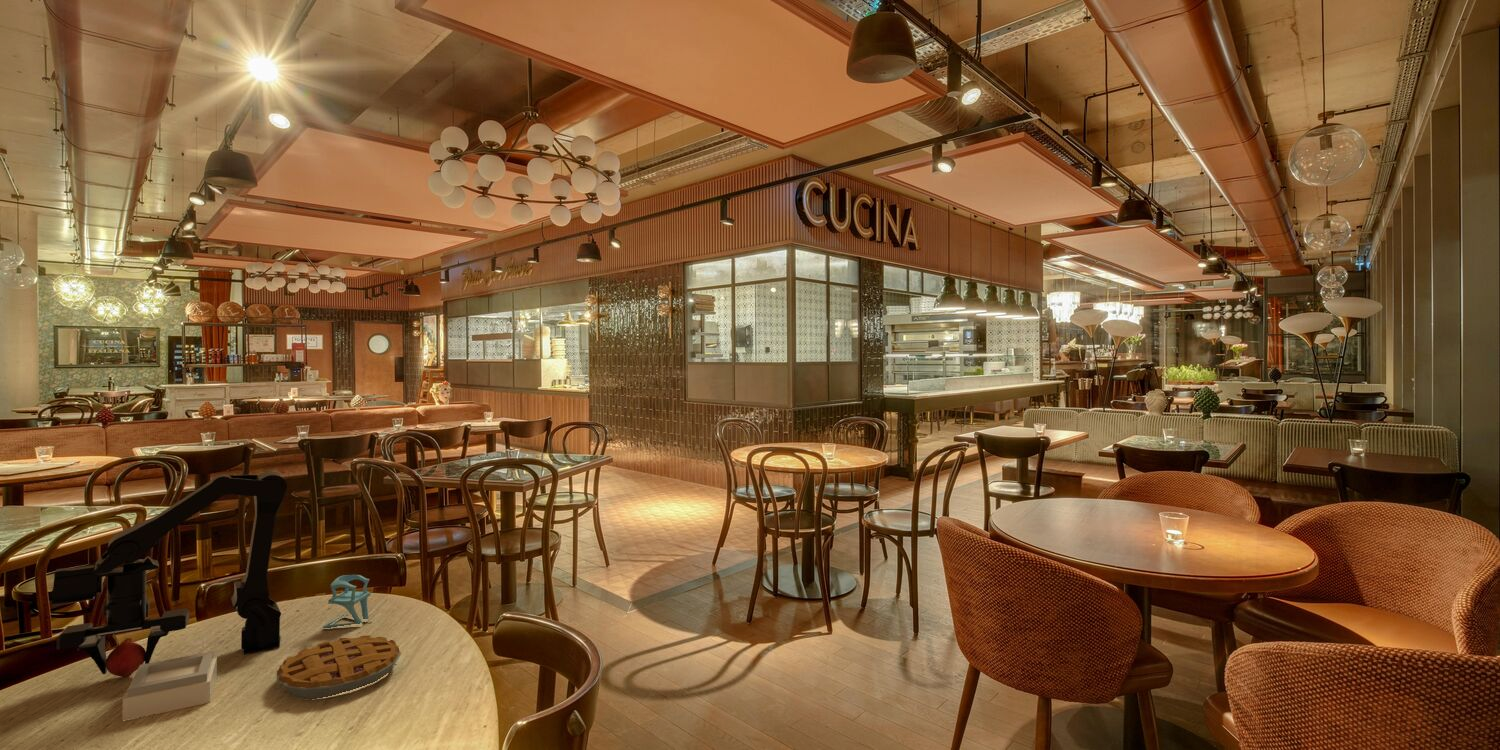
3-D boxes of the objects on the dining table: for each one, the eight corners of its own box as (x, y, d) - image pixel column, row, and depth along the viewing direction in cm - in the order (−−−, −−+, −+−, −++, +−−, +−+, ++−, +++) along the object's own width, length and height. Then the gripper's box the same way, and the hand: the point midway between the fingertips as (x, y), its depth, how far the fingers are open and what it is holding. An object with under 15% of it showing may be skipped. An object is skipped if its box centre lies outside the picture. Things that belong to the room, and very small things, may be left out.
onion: (120, 686, 126) (120, 646, 126) (97, 682, 127) (98, 642, 127) (153, 672, 131) (153, 634, 131) (131, 668, 132) (131, 631, 132)
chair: (356, 631, 153) (357, 582, 153) (322, 630, 154) (323, 581, 153) (375, 618, 161) (376, 572, 161) (342, 617, 161) (344, 570, 161)
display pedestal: (216, 676, 130) (217, 649, 130) (209, 702, 121) (210, 673, 121) (136, 692, 123) (137, 664, 123) (122, 721, 114) (122, 691, 114)
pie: (415, 677, 133) (416, 653, 132) (289, 718, 117) (289, 691, 116) (381, 644, 147) (381, 622, 147) (265, 676, 131) (265, 652, 131)
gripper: (193, 574, 141) (192, 643, 141) (72, 590, 130) (72, 665, 130) (185, 589, 132) (184, 663, 132) (55, 607, 121) (55, 688, 121)
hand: (126, 669), depth 129 cm, fingers closed on onion, 6 cm apart
